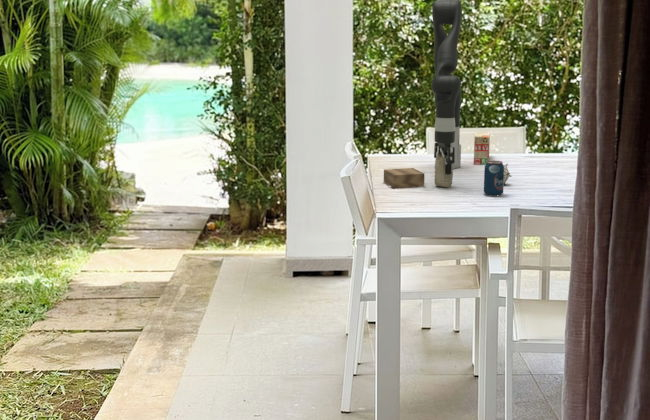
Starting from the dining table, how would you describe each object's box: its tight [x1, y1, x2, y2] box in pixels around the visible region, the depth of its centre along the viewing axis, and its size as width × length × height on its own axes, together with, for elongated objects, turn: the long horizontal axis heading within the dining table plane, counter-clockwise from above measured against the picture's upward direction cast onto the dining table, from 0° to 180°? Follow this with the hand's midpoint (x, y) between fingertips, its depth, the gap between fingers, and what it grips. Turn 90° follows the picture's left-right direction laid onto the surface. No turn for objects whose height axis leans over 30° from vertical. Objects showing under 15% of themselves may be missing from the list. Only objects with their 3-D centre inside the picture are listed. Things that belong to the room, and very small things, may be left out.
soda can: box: [483, 160, 504, 197], centre depth 348 cm, size 7×7×12 cm
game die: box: [503, 163, 512, 186], centre depth 366 cm, size 9×8×10 cm
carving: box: [433, 155, 454, 188], centre depth 362 cm, size 6×8×12 cm
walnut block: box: [383, 167, 425, 189], centre depth 367 cm, size 12×12×5 cm
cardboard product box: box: [473, 131, 491, 166], centre depth 416 cm, size 21×6×12 cm, turn 170°
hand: (443, 172), depth 362 cm, fingers open, 8 cm apart
